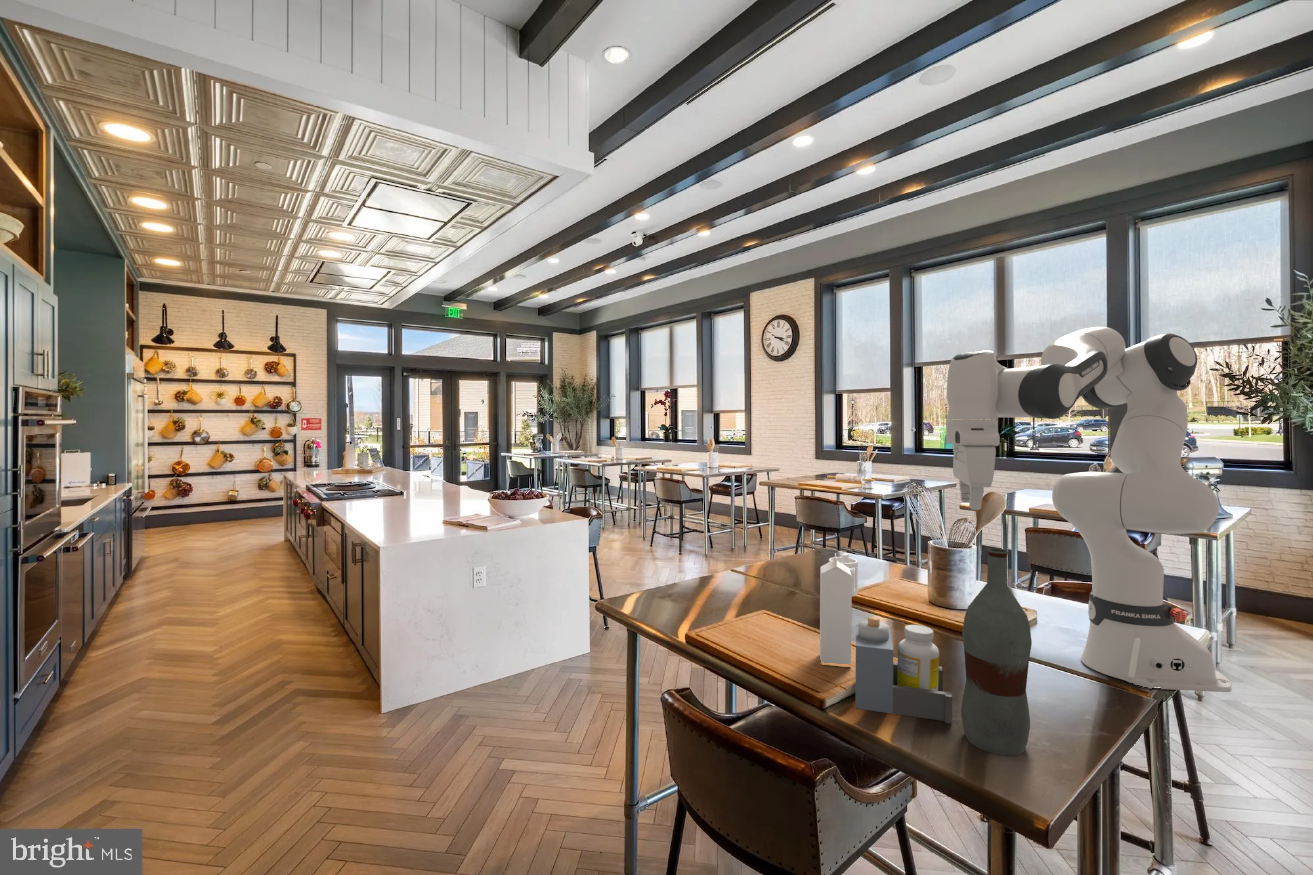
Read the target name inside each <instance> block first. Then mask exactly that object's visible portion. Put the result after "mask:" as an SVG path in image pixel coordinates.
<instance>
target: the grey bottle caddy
mask: <svg viewBox="0 0 1313 875" xmlns="http://www.w3.org/2000/svg"><path fill="white" fill-rule="evenodd" d="M897 673H898V662H894V645H893V638H892V634H891V628H890V626H889V625H888V624H887V623H885V622H881V619H880V618H879V617H876V616H869V617H867V619H866V620H861V621H859V622H858V624H855V709H859V710H865V711H873V712H878V713H879V712H880V713H887V714H892V715H893V714H894V715H899V716H901V715H902V716H907V717H913V718H921V719H928V720H935V721H941V722H944V723H945V724H950V725H952V723H953V695H952V693H951V692H949V691H944V670H943V667H942V666H939V672H938V691H935V690H927V689H919V688H912V687H904V686H897Z"/></svg>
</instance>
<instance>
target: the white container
mask: <svg viewBox="0 0 1313 875" xmlns="http://www.w3.org/2000/svg"><path fill="white" fill-rule="evenodd" d="M836 558H837V561H839V562H840V563H842V564H843V565H845V566H847V567H848V568H850V571H851V575H852V597H856V596H857V595H858V594H859V589H858V587H859V586H858V585H859V576H858V575H859V560H857V559H856V558H852V557H850V553H843V554H841V556H836ZM833 560H835V556H834V557H830V558H828V563H829V562H831V561H833Z"/></svg>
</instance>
